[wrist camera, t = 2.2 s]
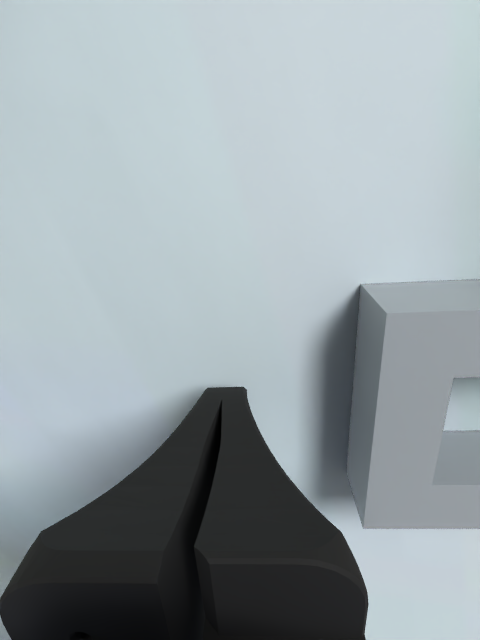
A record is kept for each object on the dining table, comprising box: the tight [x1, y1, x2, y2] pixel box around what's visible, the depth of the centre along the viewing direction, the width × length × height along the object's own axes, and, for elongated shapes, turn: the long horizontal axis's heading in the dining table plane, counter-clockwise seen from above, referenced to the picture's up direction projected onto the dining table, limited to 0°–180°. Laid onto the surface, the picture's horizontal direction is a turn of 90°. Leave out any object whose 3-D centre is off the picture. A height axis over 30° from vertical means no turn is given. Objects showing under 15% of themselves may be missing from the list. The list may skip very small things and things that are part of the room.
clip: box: [346, 279, 480, 529], centre depth 12 cm, size 8×7×2 cm
